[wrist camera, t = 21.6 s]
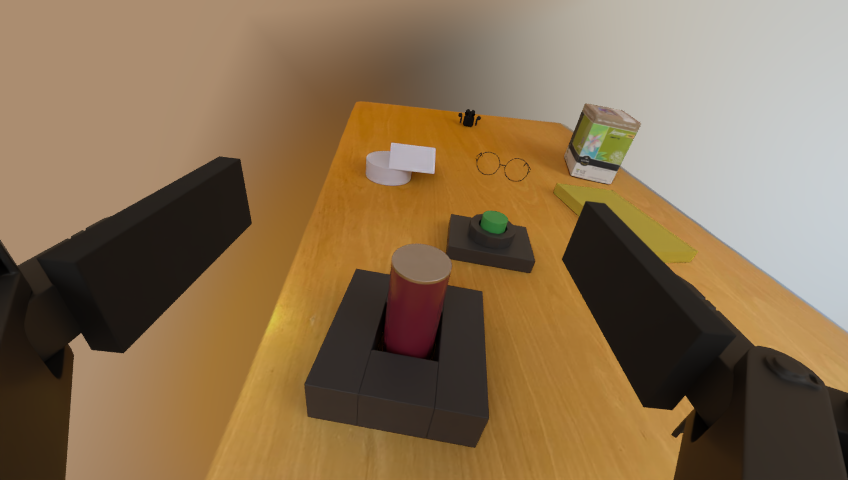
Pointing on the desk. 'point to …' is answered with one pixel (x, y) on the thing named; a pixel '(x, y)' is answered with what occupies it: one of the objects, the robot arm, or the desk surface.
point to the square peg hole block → (402, 369)
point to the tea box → (600, 143)
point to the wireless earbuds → (469, 118)
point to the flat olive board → (630, 221)
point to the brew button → (494, 222)
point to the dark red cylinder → (415, 299)
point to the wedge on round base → (399, 163)
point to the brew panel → (489, 244)
